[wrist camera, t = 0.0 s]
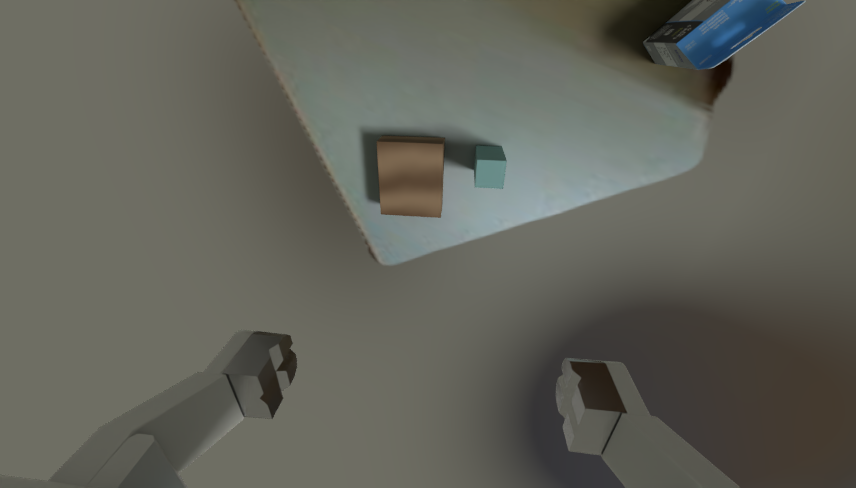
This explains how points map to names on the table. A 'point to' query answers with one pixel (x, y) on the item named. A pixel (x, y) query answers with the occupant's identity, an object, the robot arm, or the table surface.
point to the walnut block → (411, 175)
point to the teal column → (489, 167)
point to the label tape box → (713, 31)
